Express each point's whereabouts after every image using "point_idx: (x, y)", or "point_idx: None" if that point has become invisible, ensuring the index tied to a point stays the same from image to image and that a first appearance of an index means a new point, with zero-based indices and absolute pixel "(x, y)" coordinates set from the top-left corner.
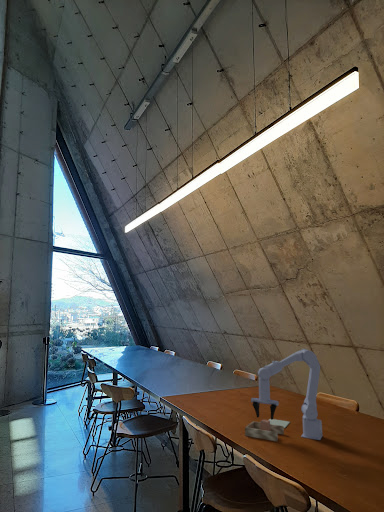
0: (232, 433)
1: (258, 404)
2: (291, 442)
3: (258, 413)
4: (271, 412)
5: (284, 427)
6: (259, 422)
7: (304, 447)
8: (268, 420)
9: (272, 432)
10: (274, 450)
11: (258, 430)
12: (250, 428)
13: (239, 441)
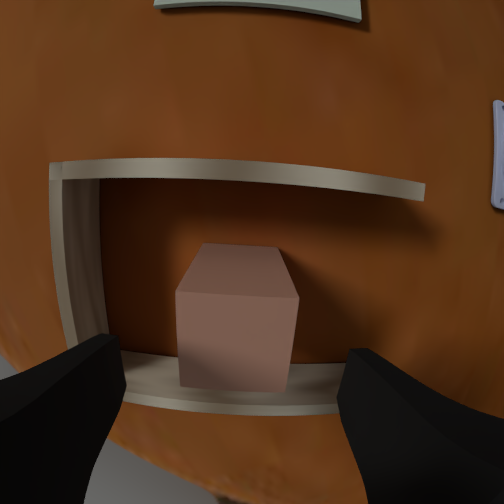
0: (25, 328)
1: (11, 499)
2: (435, 331)
3: (99, 394)
4: (379, 491)
5: (359, 19)
6: (120, 166)
7: (479, 362)
8: (275, 302)
9: (333, 411)
10: (337, 464)
11: (200, 407)
12: (124, 400)
13: (127, 435)
